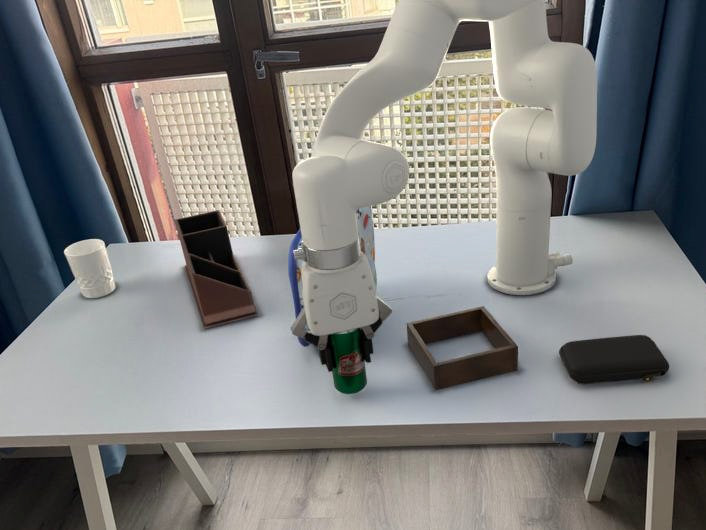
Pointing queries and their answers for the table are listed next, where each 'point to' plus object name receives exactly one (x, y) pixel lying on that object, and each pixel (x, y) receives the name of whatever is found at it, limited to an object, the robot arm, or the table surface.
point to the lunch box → (295, 266)
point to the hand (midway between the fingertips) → (347, 361)
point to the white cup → (91, 267)
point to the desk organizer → (214, 270)
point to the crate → (466, 366)
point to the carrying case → (613, 359)
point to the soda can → (348, 361)
